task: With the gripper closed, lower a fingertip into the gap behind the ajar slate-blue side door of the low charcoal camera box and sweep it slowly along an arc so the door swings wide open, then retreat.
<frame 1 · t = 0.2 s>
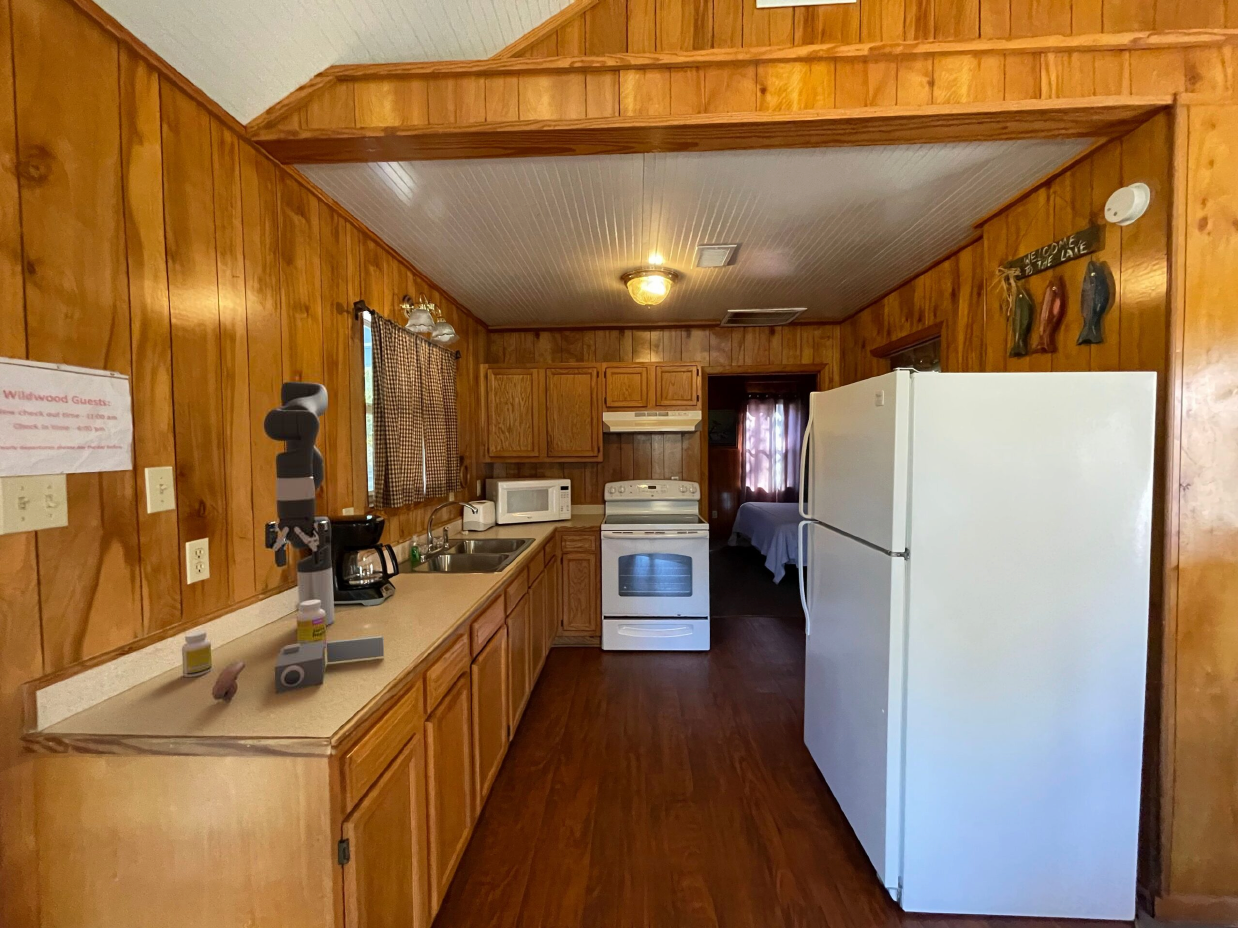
hand: (299, 566, 116), 27 cm above the counter, fingers open, 8 cm apart
supplement bottle: (312, 649, 136), on the counter
supplement bottle 2: (198, 673, 122), on the counter
door: (356, 648, 127), point 3 cm above the counter, hinge at 75.0°
mushroom: (229, 702, 108), on the counter
camera box: (302, 677, 118), on the counter
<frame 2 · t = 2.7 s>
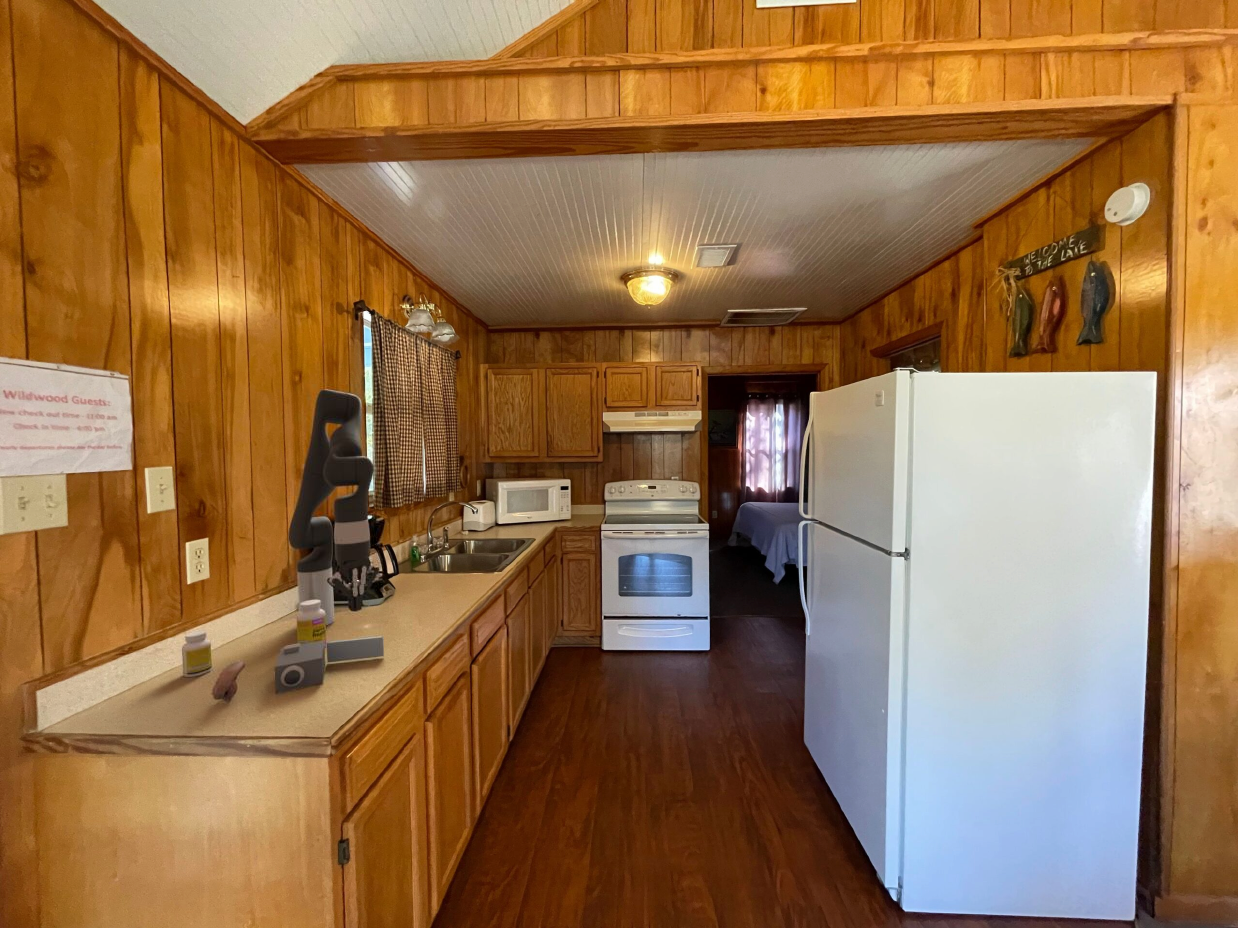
hand: (356, 610, 120), 15 cm above the counter, fingers closed
nothing on the counter moved.
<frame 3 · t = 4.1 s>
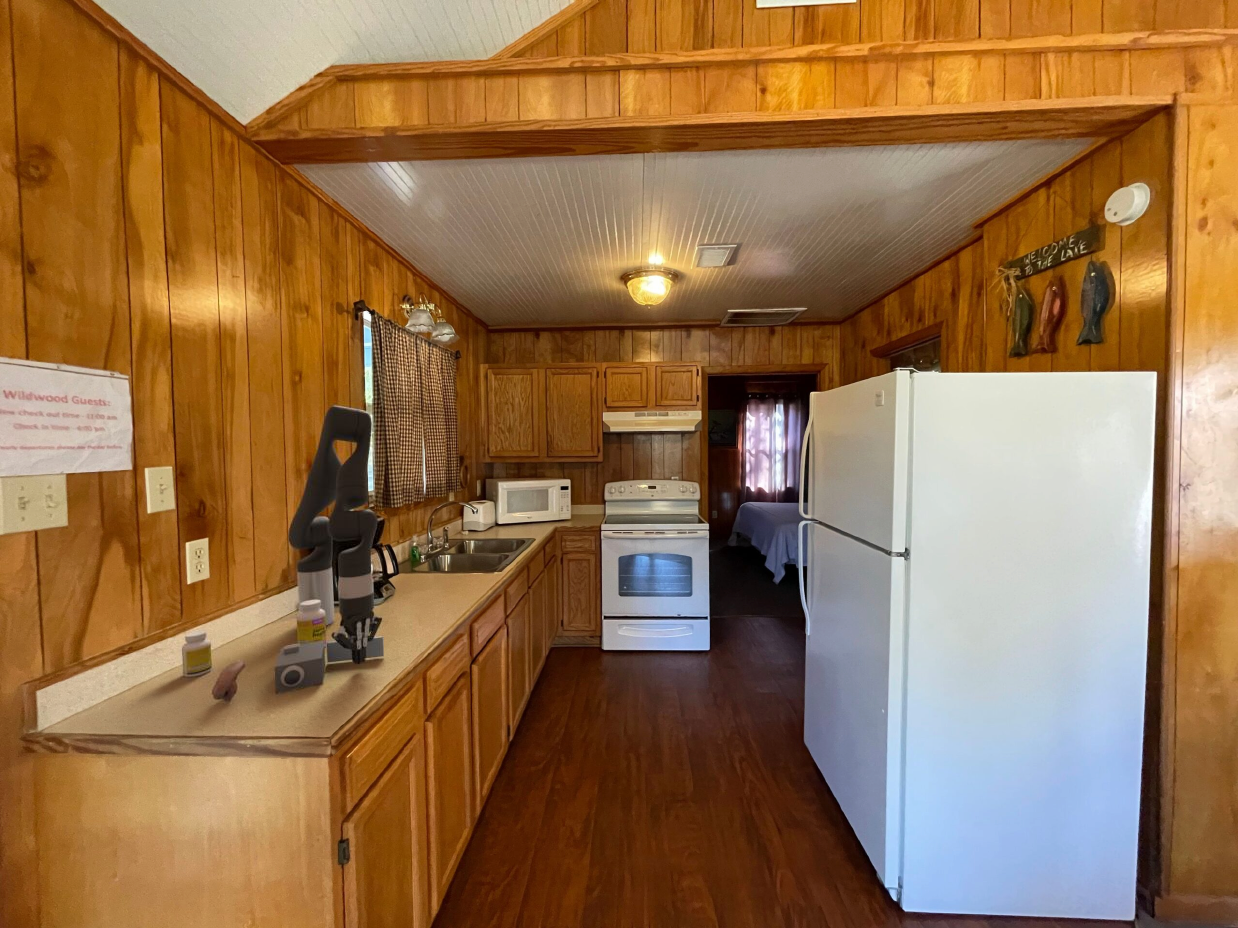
hand: (359, 662, 121), 2 cm above the counter, fingers closed
nothing on the counter moved.
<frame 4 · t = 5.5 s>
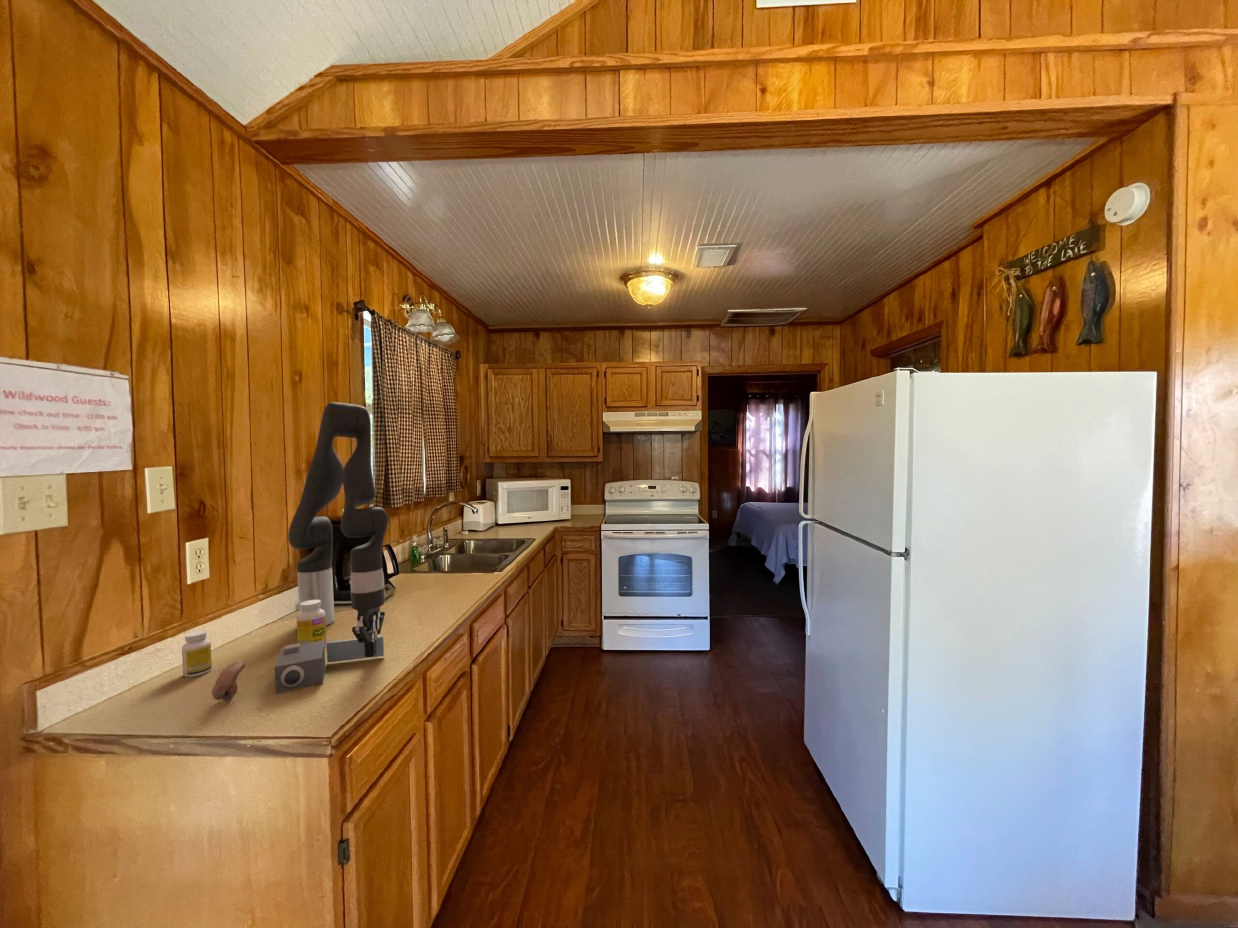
hand: (370, 655, 125), 2 cm above the counter, fingers closed
door: (356, 648, 127), point 3 cm above the counter, hinge at 76.0°, touching gripper
everything else where it was.
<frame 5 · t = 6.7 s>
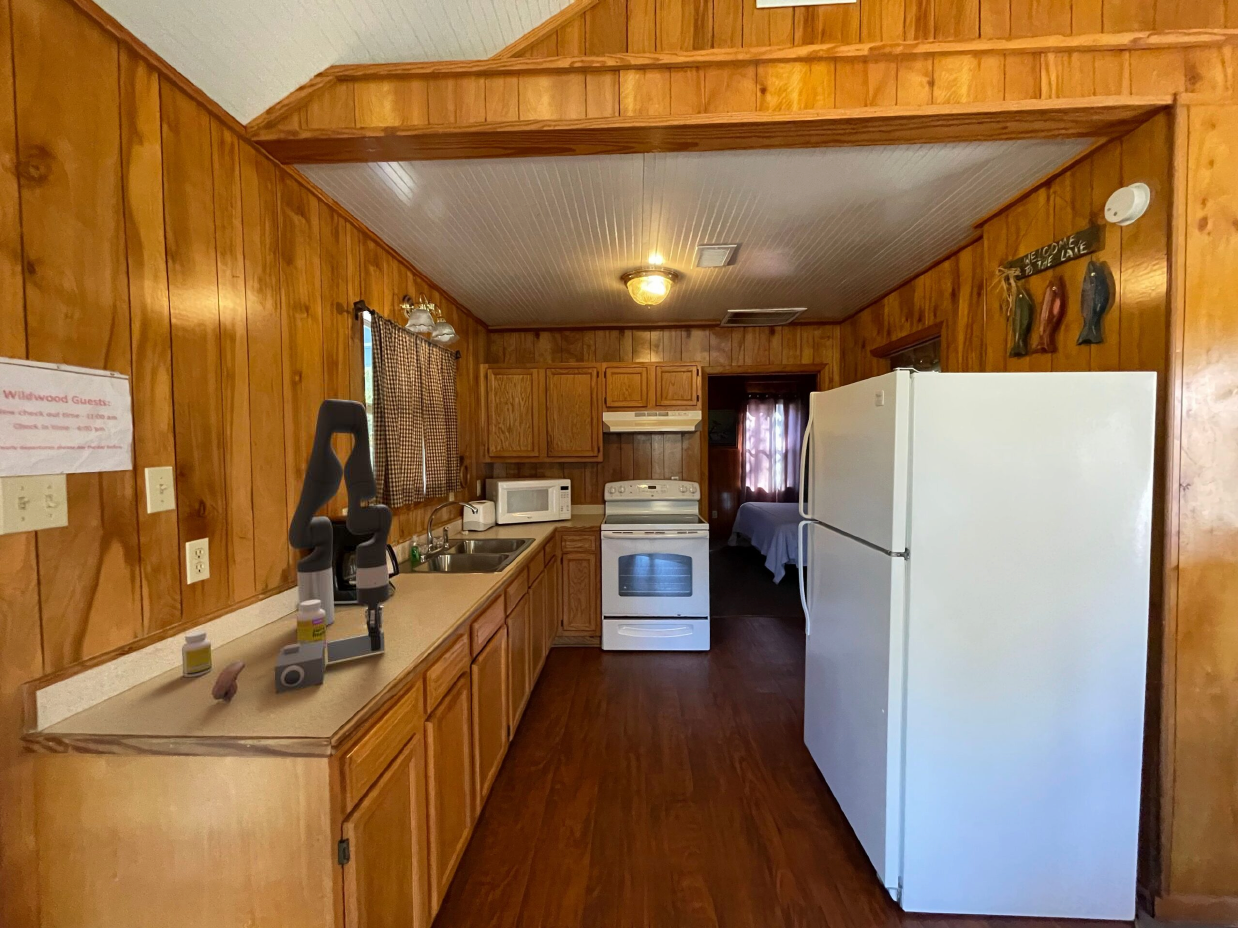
hand: (376, 649, 128), 2 cm above the counter, fingers closed
door: (356, 645, 129), point 3 cm above the counter, hinge at 92.1°, touching gripper
everything else where it was.
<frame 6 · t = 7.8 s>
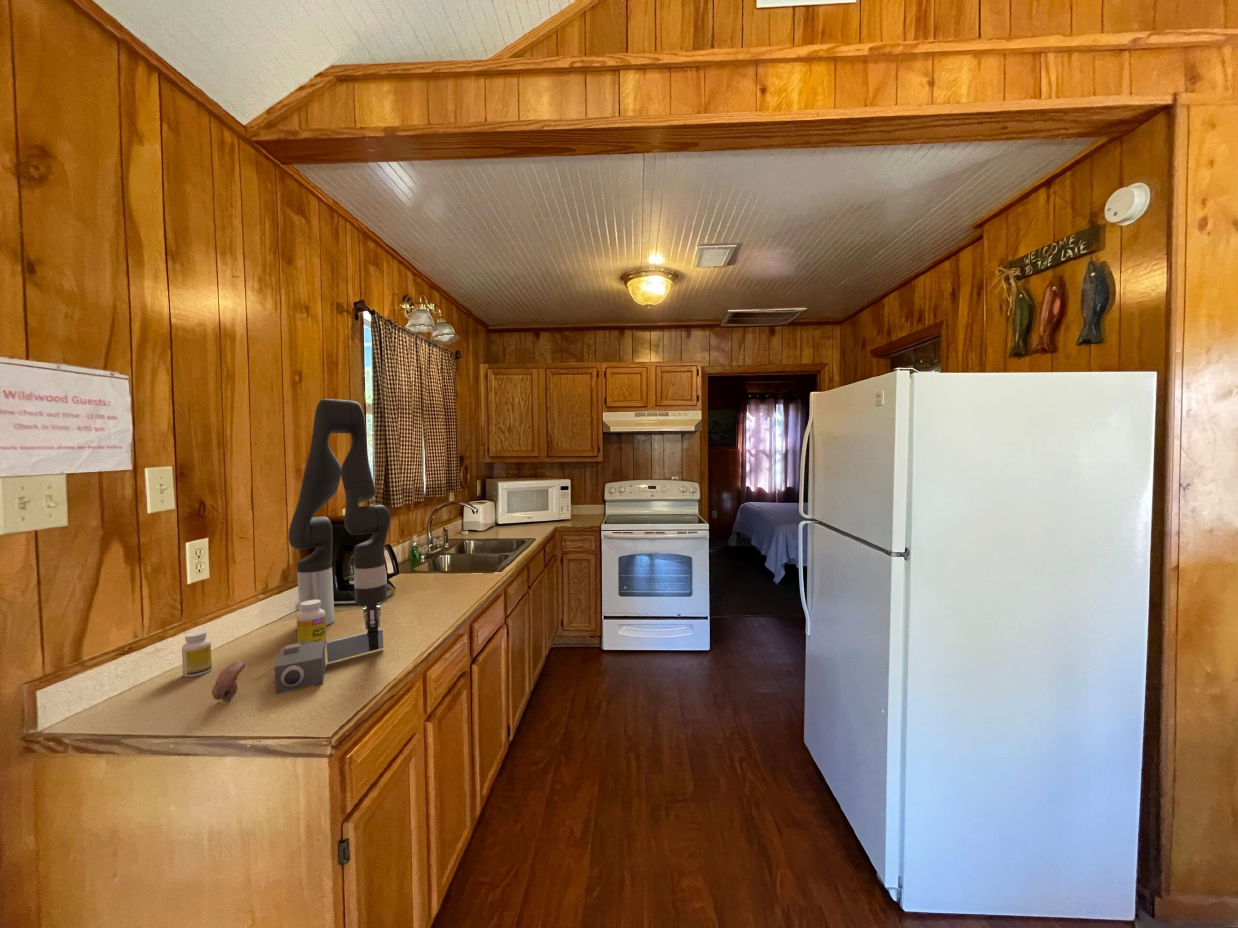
hand: (373, 649, 129), 2 cm above the counter, fingers closed
door: (355, 644, 130), point 3 cm above the counter, hinge at 101.6°
everything else where it was.
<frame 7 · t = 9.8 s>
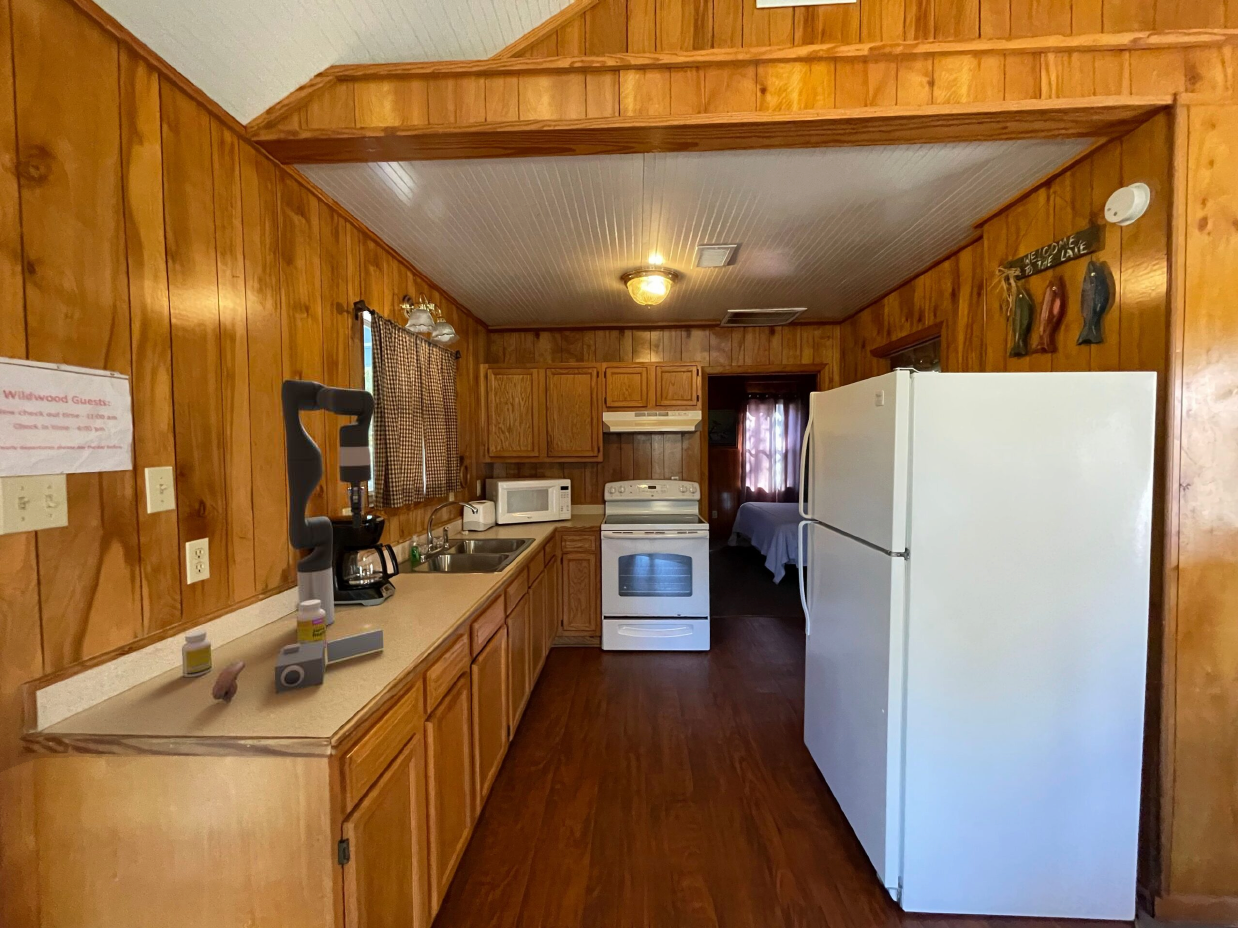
hand: (357, 527, 135), 33 cm above the counter, fingers closed
nothing on the counter moved.
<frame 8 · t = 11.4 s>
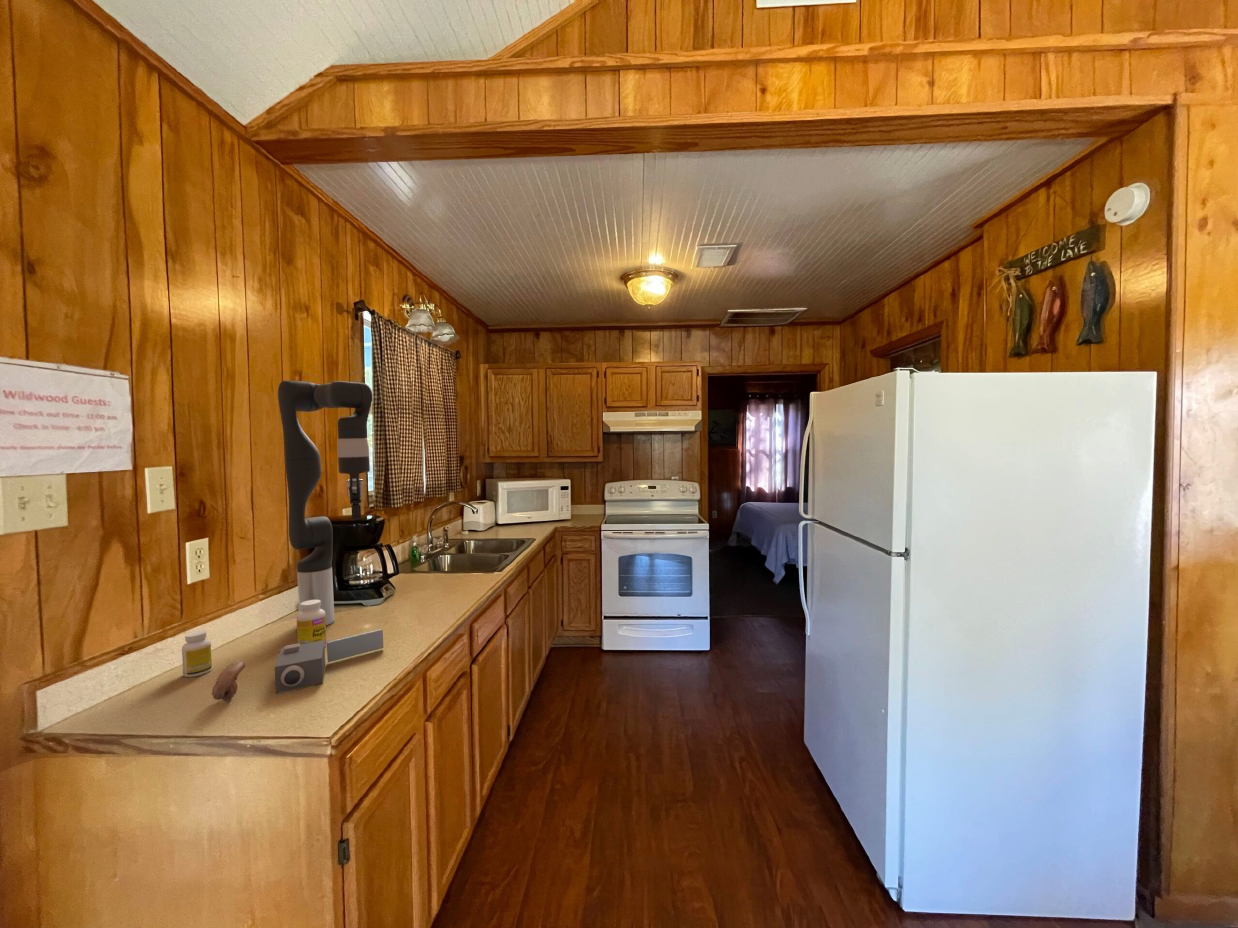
hand: (356, 518, 136), 35 cm above the counter, fingers closed
nothing on the counter moved.
at the end: door at +102° (first picture: +75°) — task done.
